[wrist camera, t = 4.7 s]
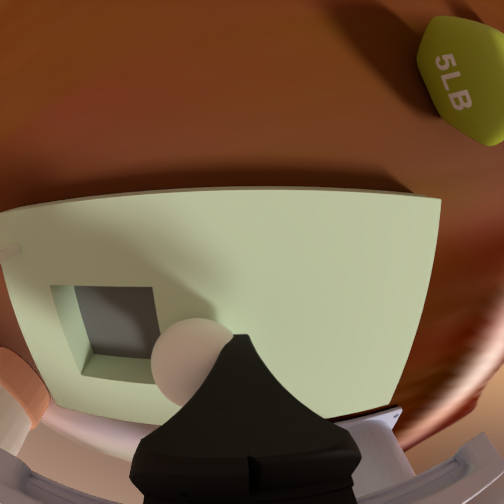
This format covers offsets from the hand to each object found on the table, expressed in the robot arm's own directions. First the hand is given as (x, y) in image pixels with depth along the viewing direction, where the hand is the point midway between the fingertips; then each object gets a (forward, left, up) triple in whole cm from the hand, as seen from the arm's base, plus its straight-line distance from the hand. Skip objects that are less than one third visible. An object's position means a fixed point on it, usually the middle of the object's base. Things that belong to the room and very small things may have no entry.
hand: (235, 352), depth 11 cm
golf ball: (0, +1, 0) cm, 2 cm away
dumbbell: (+16, -19, -4) cm, 25 cm away
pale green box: (0, +1, -4) cm, 4 cm away
